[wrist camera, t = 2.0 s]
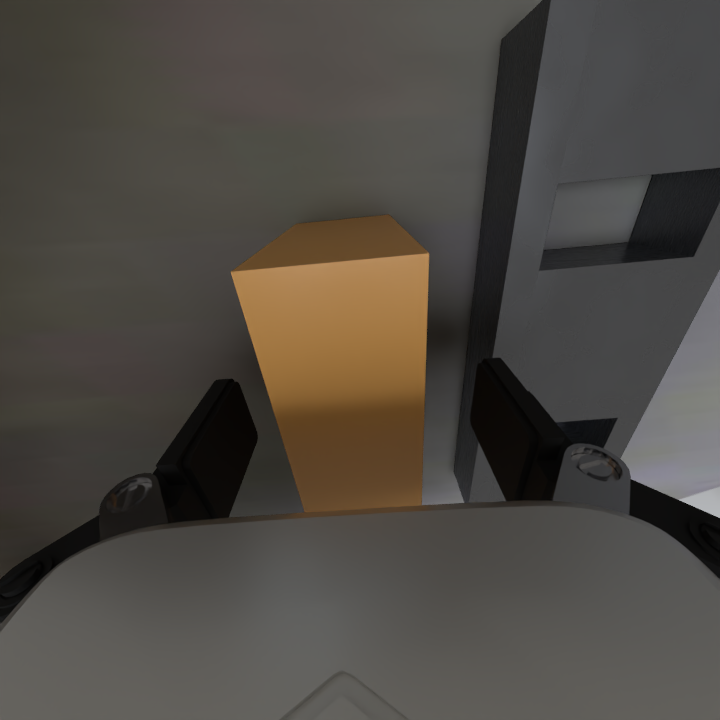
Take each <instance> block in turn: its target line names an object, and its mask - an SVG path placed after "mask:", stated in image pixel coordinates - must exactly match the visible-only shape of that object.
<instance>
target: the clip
mask: <svg viewBox="0 0 720 720" xmlns="http://www.w3.org/2000/svg"><path fill="white" fill-rule="evenodd" d="M231 275H232V278H233V281H234V284H235V288H236V291H237V294H238V297H239V301H240V304H241V307H242V310H243V314H244V317H245V320H246V323H247V327H248V330H249V333H250V336H251V340H252V343H253V346H254V349H255V353H256V356H257V359H258V362H259V366H260V369H261V372H262V375H263V379H264V382H265V385H266V388H267V391H268V395H269V398H270V401H271V404H272V408H273V411H274V414H275V417H276V421H277V424H278V427H279V430H280V434H281V437H282V440H283V443H284V447H285V450H286V453H287V456H288V460H289V463H290V466H291V469H292V473H293V476H294V479H295V482H296V486H297V489H298V492H299V495H300V499H301V502H302V505H303V508H304V512H321V511H337V510H353V509H369V508H386V507H403V506H420V505H422V473H423V440H424V407H425V374H426V341H427V309H428V276H429V253H428V252H427V251H426V250H425V249H424V248H423V247H422V246H421V245H420V244H419V243H418V242H417V241H416V240H415V239H414V238H413V237H412V236H411V235H410V234H409V233H408V232H407V231H406V230H404V229H403V228H402V227H401V226H400V225H399V224H398V223H397V222H396V221H395V220H394V219H393V218H392V217H391V216H390V215H380V216H370V217H360V218H350V219H340V220H329V221H319V222H309V223H299V224H295V225H294V226H293V227H291V228H290V229H289V230H287V231H286V232H285V233H283V234H282V235H280V236H279V237H278V238H276V239H275V240H274V241H272V242H271V243H269V244H268V245H267V246H265V247H264V248H263V249H261V250H260V251H259V252H257V253H256V254H254V255H253V256H252V257H250V258H249V259H248V260H246V261H245V262H243V263H242V264H241V265H239V266H238V267H237V268H235V269H234V270H233V271H231Z"/></svg>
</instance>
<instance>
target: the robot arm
mask: <svg viewBox="0 0 720 720" xmlns="http://www.w3.org/2000/svg"><path fill="white" fill-rule="evenodd" d="M470 423H471V426H472V429H473V431H474V433H475V435H476V437H477V440H478V442H479V444H480V446H481V448H482V450H483V452H484V455H485V457H486V459H487V461H488V463H489V465H490V468H491V470H492V472H493V474H494V476H495V478H496V480H497V483H498V485H499V487H500V489H501V491H502V493H503V495H504V498H505V500H506V501H498V502H473V503H456V504H438V505H420V506H403V507H386V508H369V509H353V510H337V511H321V512H305V513H290V514H276V515H261V516H246V517H231V518H228V517H229V515H230V512H231V509H232V507H233V504H234V501H235V499H236V496H237V493H238V491H239V488H240V486H241V483H242V480H243V478H244V475H245V472H246V470H247V467H248V464H249V462H250V459H251V456H252V454H253V451H254V448H255V446H256V443H257V439H258V435H257V431H256V428H255V425H254V423H253V420H252V417H251V414H250V412H249V409H248V406H247V403H246V401H245V398H244V395H243V393H242V390H241V387H240V385H239V383H238V382H235V381H234V380H233V379H221V380H216V381H215V382H214V383H213V384H212V386H211V387H210V389H209V390H208V392H207V393H206V394H205V396H204V397H203V399H202V400H201V402H200V403H199V404H198V406H197V407H196V409H195V410H194V412H193V413H192V414H191V416H190V417H189V419H188V420H187V422H186V423H185V424H184V426H183V427H182V429H181V430H180V432H179V433H178V434H177V436H176V437H175V439H174V440H173V442H172V443H171V444H170V446H169V447H168V449H167V450H166V452H165V453H164V454H163V456H162V457H161V459H160V460H159V462H158V463H157V464H156V466H157V468H156V470H155V471H154V473H153V474H151V473H142V474H137V475H134V476H132V477H129V478H127V479H125V480H124V481H122V482H120V483H119V484H118V485H116V486H115V487H114V488H113V489H111V490H110V491H109V492H108V494H107V495H106V496H105V497H104V499H103V500H102V502H101V504H100V508H99V515H98V516H97V517H95V518H93V519H92V520H90V521H88V522H87V523H85V524H83V525H82V526H80V527H78V528H77V529H75V530H73V531H72V532H70V533H69V534H67V535H65V536H64V537H62V538H60V539H59V540H57V541H55V542H54V543H52V544H50V545H49V546H47V547H45V548H44V549H42V550H40V551H39V552H37V553H35V554H34V555H32V556H30V557H29V558H27V559H25V560H24V561H22V562H21V563H19V564H18V565H17V566H15V567H14V568H12V569H11V570H10V571H9V572H8V573H7V574H6V575H4V576H3V577H2V578H1V579H0V720H720V518H718V517H716V516H713V515H711V514H709V513H707V512H704V511H702V510H700V509H697V508H695V507H693V506H691V505H688V504H686V503H684V502H682V501H679V500H677V499H675V498H673V497H670V496H668V495H666V494H663V493H661V492H659V491H657V490H654V489H652V488H650V487H647V486H645V485H643V484H641V483H638V482H636V481H634V480H631V476H630V472H629V469H628V467H627V466H626V464H625V463H624V462H623V461H622V460H621V459H620V458H619V457H617V456H616V455H614V454H613V453H611V452H610V451H608V450H606V449H603V448H601V447H599V446H595V445H591V444H582V443H579V444H573V443H572V442H571V441H570V439H569V438H568V437H567V436H566V434H565V433H564V432H563V431H562V430H561V428H560V427H559V426H558V425H557V423H556V422H555V421H554V420H553V419H552V417H551V416H550V415H549V414H548V412H547V411H546V410H545V409H544V408H543V406H542V405H541V404H540V403H539V401H538V400H537V399H536V398H535V397H534V395H533V394H532V393H531V392H530V391H527V390H526V388H525V387H524V386H523V385H522V383H521V382H520V381H519V380H518V378H517V377H516V376H515V375H514V374H513V372H512V371H511V370H510V369H509V367H508V366H507V365H506V364H505V362H504V361H503V360H502V359H501V358H486V359H483V360H482V363H478V365H477V370H476V377H475V384H474V392H473V399H472V406H471V413H470Z"/></svg>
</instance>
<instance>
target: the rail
mask: <svg viewBox="0 0 720 720" xmlns="http://www.w3.org/2000/svg"><path fill="white" fill-rule="evenodd" d="M652 174H653V177H652V180H651V183H650V185H649V188H648V191H647V194H646V197H645V199H644V202H643V205H642V208H641V211H640V214H639V216H638V219H637V222H636V225H635V228H634V230H633V233H632V236H631V239H630V242H629V243H618V244H607V245H596V246H586V247H575V248H564V249H553V250H544V245H545V240H546V236H547V231H548V227H549V222H550V218H551V213H552V208H553V204H554V199H555V195H556V190H557V186H558V184H562V183H572V182H582V181H592V180H602V179H612V178H622V177H632V176H642V175H652ZM719 270H720V0H542V1H541V2H540V3H539V4H538V5H537V6H536V7H535V8H534V9H533V10H532V11H531V12H530V13H529V14H528V15H527V16H526V17H525V18H524V19H523V20H522V21H521V22H520V23H518V24H517V25H516V26H515V27H514V28H513V29H512V30H511V31H510V32H509V33H508V34H507V35H506V36H505V37H504V38H503V39H502V43H501V52H500V61H499V70H498V79H497V88H496V97H495V106H494V115H493V124H492V133H491V142H490V151H489V160H488V169H487V178H486V187H485V195H484V204H483V213H482V222H481V231H480V240H479V249H478V258H477V267H476V276H475V285H474V294H473V303H472V312H471V321H470V330H469V339H468V348H467V357H466V366H465V375H464V384H463V393H462V402H461V411H460V420H459V429H458V438H457V447H456V456H455V465H454V474H455V477H456V479H457V482H458V485H459V488H460V491H461V494H462V497H463V500H464V503H473V502H498V501H506V500H505V498H504V495H503V493H502V491H501V489H500V487H499V485H498V483H497V480H496V478H495V476H494V474H493V472H492V470H491V468H490V465H489V463H488V461H487V459H486V457H485V455H484V452H483V450H482V448H481V446H480V444H479V442H478V440H477V437H476V435H475V433H474V431H473V429H472V426H471V423H470V413H471V406H472V399H473V392H474V384H475V377H476V370H477V365H478V363H482V360H483V359H486V358H501V359H502V360H503V361H504V362H505V364H506V365H507V366H508V367H509V369H510V370H511V371H512V372H513V374H514V375H515V376H516V377H517V378H518V380H519V381H520V382H521V383H522V385H523V386H524V387H525V388H526V390H527V391H530V392H531V393H532V394H533V395H534V397H535V398H536V399H537V400H538V401H539V403H540V404H541V405H542V406H543V408H544V409H545V410H546V411H547V412H548V414H549V415H550V416H551V417H552V419H553V420H554V421H555V422H556V423H557V425H558V426H559V427H560V428H561V430H562V431H563V432H564V433H565V434H566V436H567V437H568V438H569V439H570V441H571V442H572V443H573V444H579V443H582V444H591V445H595V446H599V447H601V448H603V449H606V450H608V451H610V452H611V453H613V454H614V455H616V456H617V457H619V458H621V456H622V454H623V452H624V450H625V448H626V447H627V445H628V443H629V441H630V439H631V437H632V435H633V433H634V431H635V429H636V428H637V426H638V424H639V422H640V420H641V418H642V416H643V414H644V412H645V410H646V409H647V407H648V405H649V403H650V401H651V399H652V397H653V395H654V393H655V391H656V389H657V388H658V386H659V384H660V382H661V380H662V378H663V376H664V374H665V372H666V370H667V369H668V367H669V365H670V363H671V361H672V359H673V357H674V355H675V353H676V351H677V350H678V348H679V346H680V344H681V342H682V340H683V338H684V336H685V334H686V332H687V331H688V329H689V327H690V325H691V323H692V321H693V319H694V317H695V315H696V313H697V312H698V310H699V308H700V306H701V304H702V302H703V300H704V298H705V296H706V294H707V292H708V291H709V289H710V287H711V285H712V283H713V281H714V279H715V277H716V275H717V273H718V272H719Z"/></svg>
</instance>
